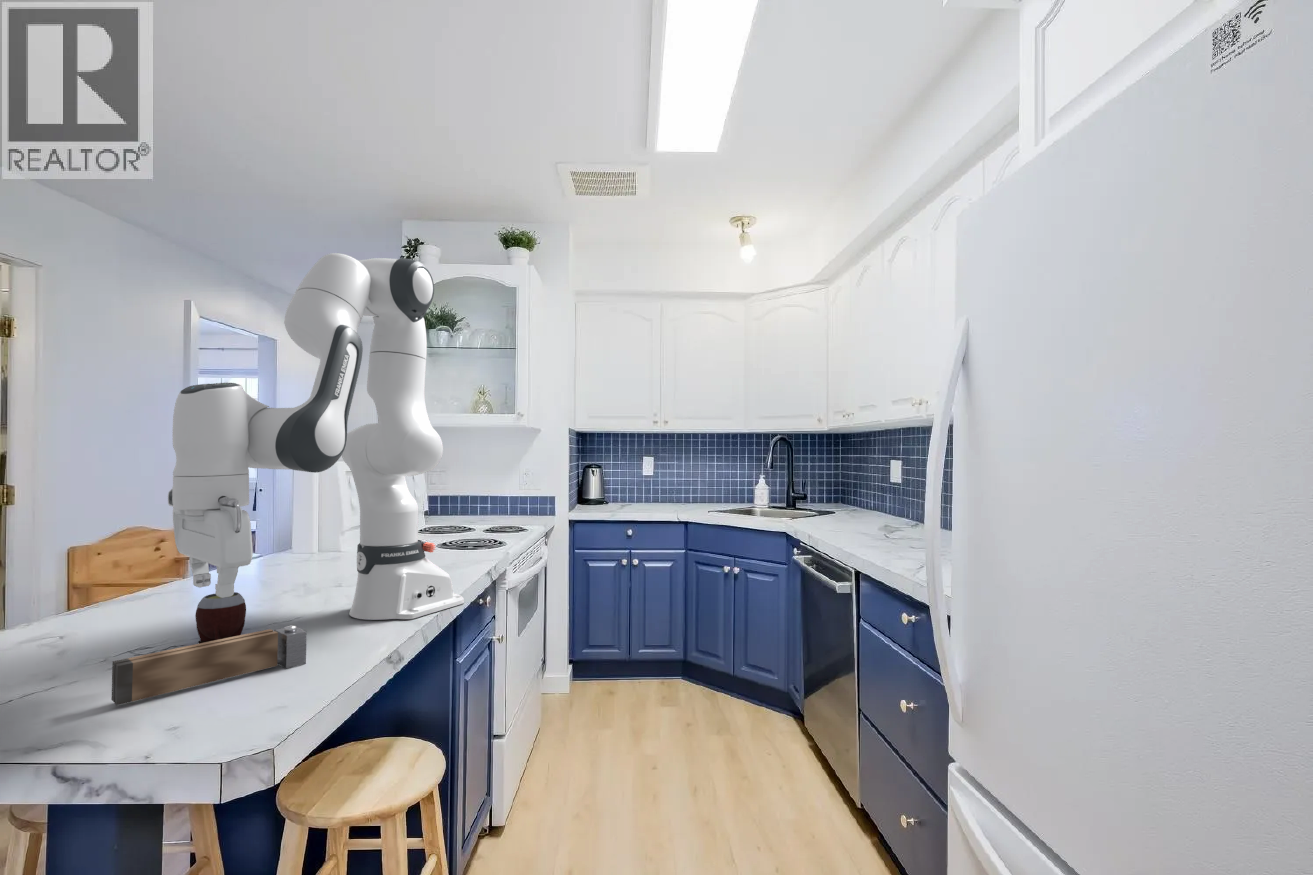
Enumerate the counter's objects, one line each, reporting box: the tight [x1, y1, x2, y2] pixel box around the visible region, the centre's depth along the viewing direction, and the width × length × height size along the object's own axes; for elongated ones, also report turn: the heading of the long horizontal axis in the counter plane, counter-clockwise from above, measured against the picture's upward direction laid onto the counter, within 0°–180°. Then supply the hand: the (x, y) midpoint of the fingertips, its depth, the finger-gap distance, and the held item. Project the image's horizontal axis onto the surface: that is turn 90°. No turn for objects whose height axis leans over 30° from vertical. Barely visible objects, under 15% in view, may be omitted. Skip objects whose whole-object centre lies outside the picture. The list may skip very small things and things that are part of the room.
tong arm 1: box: [110, 628, 274, 703], centre depth 86 cm, size 18×1×5 cm, turn 143°
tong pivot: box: [273, 624, 307, 670], centre depth 95 cm, size 3×5×6 cm, turn 52°
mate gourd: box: [194, 567, 247, 644], centre depth 105 cm, size 8×8×15 cm
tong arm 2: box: [113, 630, 278, 706], centre depth 85 cm, size 18×1×5 cm, turn 142°
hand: (213, 591), depth 87 cm, fingers open, 8 cm apart
